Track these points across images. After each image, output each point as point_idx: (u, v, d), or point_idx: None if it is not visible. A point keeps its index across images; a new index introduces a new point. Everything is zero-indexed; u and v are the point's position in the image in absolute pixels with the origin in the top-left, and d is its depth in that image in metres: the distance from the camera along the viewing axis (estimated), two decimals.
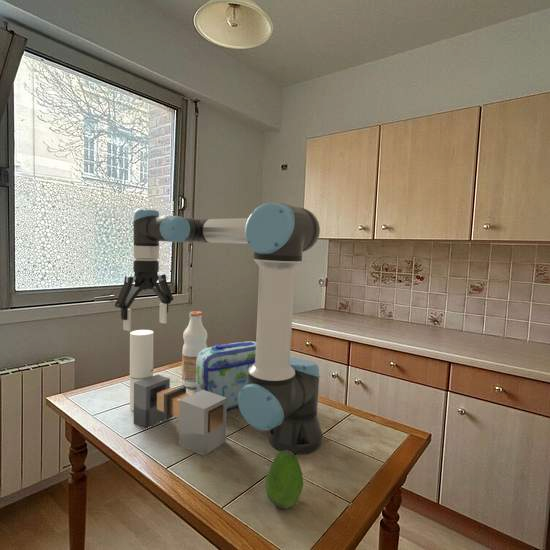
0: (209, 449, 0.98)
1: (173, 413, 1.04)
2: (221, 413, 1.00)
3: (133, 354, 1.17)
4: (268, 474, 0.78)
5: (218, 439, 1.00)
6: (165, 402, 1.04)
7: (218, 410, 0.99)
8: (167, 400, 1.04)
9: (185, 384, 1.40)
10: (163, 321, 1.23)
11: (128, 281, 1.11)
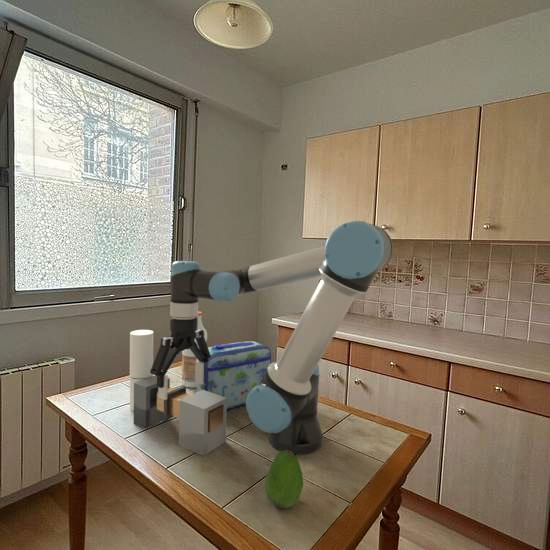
0: (209, 449, 0.98)
1: (173, 413, 1.04)
2: (221, 413, 1.00)
3: (133, 354, 1.17)
4: (268, 474, 0.78)
5: (218, 439, 1.00)
6: (165, 402, 1.04)
7: (218, 410, 0.99)
8: (167, 400, 1.04)
9: (185, 384, 1.40)
10: (199, 382, 1.10)
11: (165, 344, 0.98)
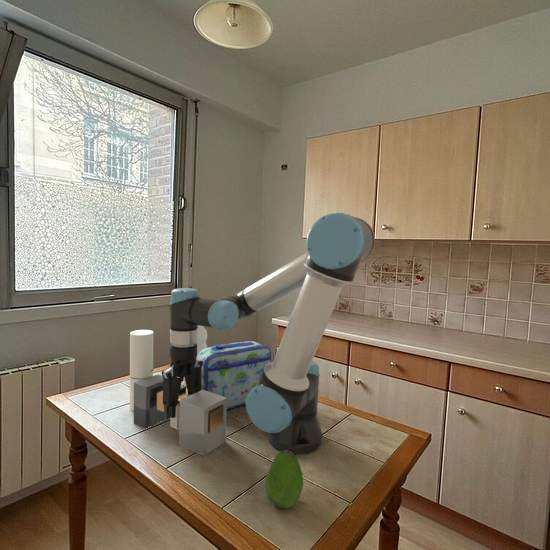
0: (209, 449, 0.98)
1: None
2: (221, 413, 1.00)
3: (133, 354, 1.17)
4: (268, 474, 0.78)
5: (218, 439, 1.00)
6: None
7: (218, 410, 0.99)
8: None
9: (185, 384, 1.40)
10: None
11: (167, 378, 0.99)
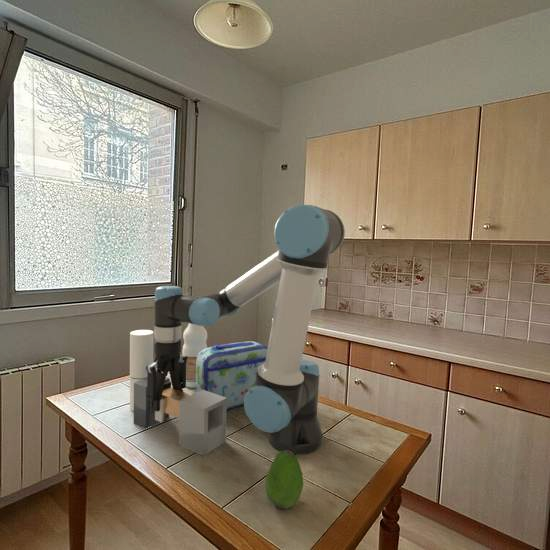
0: (209, 449, 0.98)
1: None
2: None
3: (133, 354, 1.17)
4: (268, 474, 0.78)
5: (218, 439, 1.00)
6: None
7: None
8: None
9: None
10: None
11: (151, 372, 1.02)
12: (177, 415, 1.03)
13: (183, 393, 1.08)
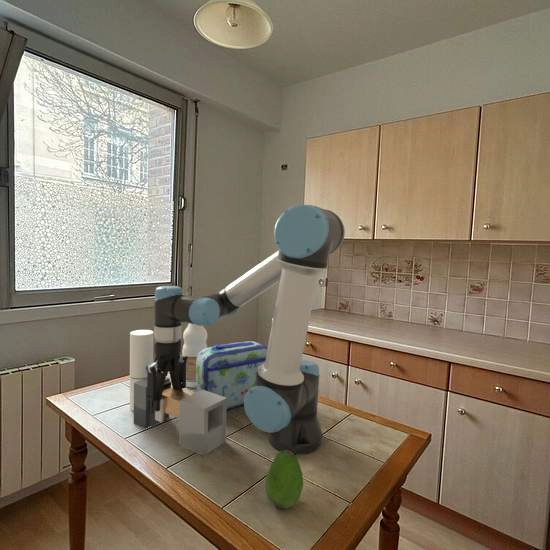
0: (209, 449, 0.98)
1: None
2: None
3: (133, 354, 1.17)
4: (268, 474, 0.78)
5: (218, 439, 1.00)
6: None
7: None
8: None
9: None
10: None
11: (151, 372, 1.02)
12: (177, 415, 1.03)
13: (183, 393, 1.08)
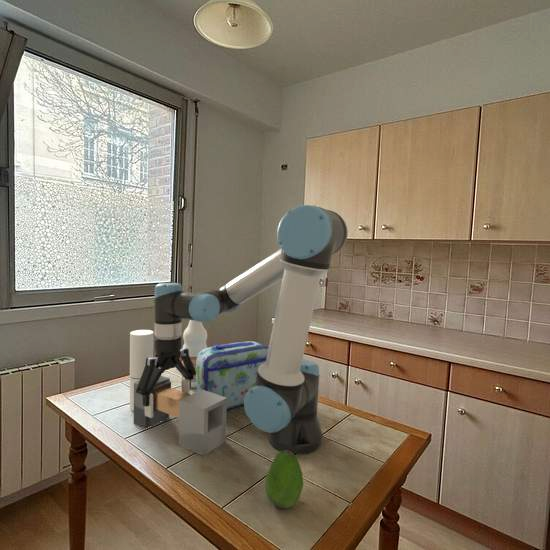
0: (209, 449, 0.98)
1: (158, 407, 1.08)
2: None
3: (133, 354, 1.17)
4: (268, 474, 0.78)
5: (218, 439, 1.00)
6: None
7: None
8: None
9: None
10: None
11: (150, 364, 1.02)
12: (177, 415, 1.03)
13: (183, 393, 1.08)
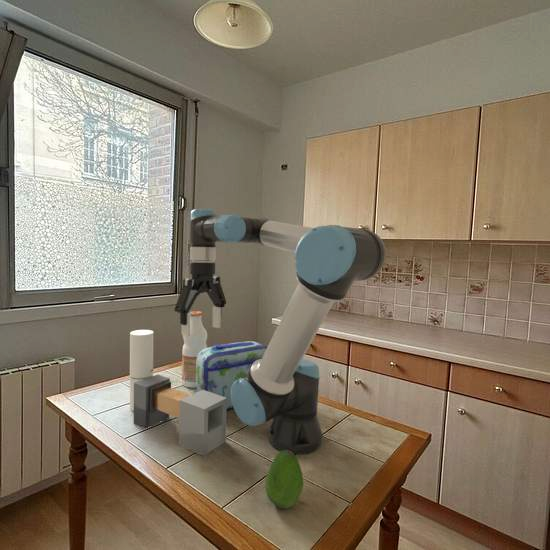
0: (209, 449, 0.98)
1: (158, 407, 1.08)
2: None
3: (133, 354, 1.17)
4: (268, 474, 0.78)
5: (218, 439, 1.00)
6: (150, 396, 1.08)
7: None
8: (152, 394, 1.07)
9: (185, 384, 1.40)
10: (217, 325, 1.18)
11: (188, 284, 1.06)
12: (177, 415, 1.03)
13: (183, 393, 1.08)
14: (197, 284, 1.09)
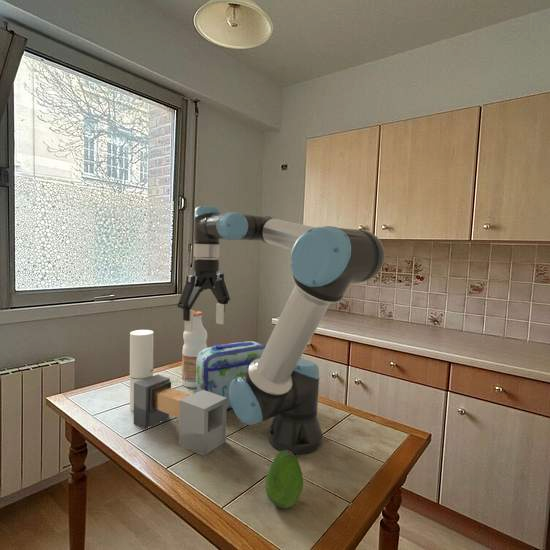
0: (209, 449, 0.98)
1: (158, 407, 1.08)
2: None
3: (133, 354, 1.17)
4: (268, 474, 0.78)
5: (218, 439, 1.00)
6: (150, 396, 1.08)
7: None
8: (152, 394, 1.07)
9: (185, 384, 1.40)
10: (220, 322, 1.19)
11: (191, 281, 1.07)
12: (177, 415, 1.03)
13: (183, 393, 1.08)
14: (200, 281, 1.10)
